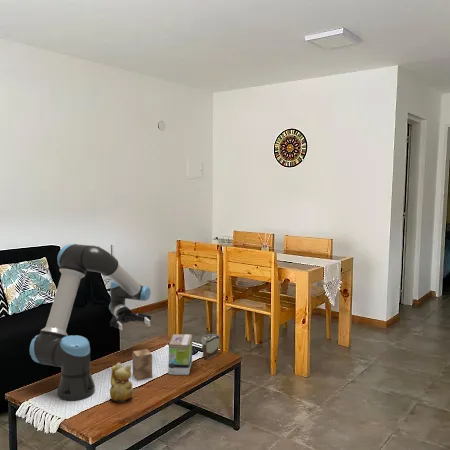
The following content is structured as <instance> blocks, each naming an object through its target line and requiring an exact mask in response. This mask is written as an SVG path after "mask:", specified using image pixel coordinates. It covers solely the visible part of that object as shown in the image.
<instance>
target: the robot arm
mask: <svg viewBox="0 0 450 450" xmlns="http://www.w3.org/2000/svg"><path fill="white" fill-rule="evenodd" d="M56 258H57V259H56V260H57V265H58V267H59V270H58V271H59V272H60V273H61V275H60V278H59V281H58V285H57V289H56V291H55V295H54V298H53V302H52V305H51V307H50V312H49V315H48V318H47V321H46V324H45V327H43V328H42V329H40V332H39V334H37V335H35V336H34V337H33V338H32V339H31V342H30V345H29V356H31V357H30V358H31V359H32V360H33V362H35V363H37V364H41V365H45V366H53V367H59V368H61V370H60V371H61V378H60V380H59V384H58V387H57V397H58V396H59V397H60V398H59V397H58V398H59V399H61V398H62V399H61V400H63V399H66V400H65V401H79V399H80V400H83V399H84V400H85V399H86V398H89V397H91V396H92V395H93V394H94V393H95V391H96V385H95V382H94V379H93V376H92V374H91V346H90V341H89V340H88V338H86V337H84V336H82V335H77V334H76V335H68V333H67V328H68V324H69V321H70V317H71V314H72V310H73V306H74V303H75V300H76V297H77V294H78V293H77V292H78V289H79V286H80V283H81V279H82V278H83V279H84V278H85V276H86V275H87V272H96V273H99V274H101V275H102V276H104V277H108V278H109V279H110V280H111V281H110V303H109V305H108V310H109V311H110V313H111V314H112V318H111V320H110V321H109V327H114V329H117V328H118V329H119V331H123V323H125V324H126V323H128V322H136V321H137V322H143V323H145V325H146V326H148V327H151V321H152V319H151V318H152V316H151V315H150V314H145V313H141V312H139V311H138V312H136V313H133V312H132V310H131V309H130V308H129V307H127V306H126V300H127V299H128V300H135V301H141V302H143V301H144V302H146V301H148V300H149V299H150V296H151V289H150V287H149V286H146V285H141V284H140V282H138V281H137V280H136V279H135V278H134V277H133V276H132V275H131V274H130V273H129V272H128V271H126V270H125V268H123V267H122V266H121V265H120V264H119V261H118V259H117V258H116V257H115V256H114V255H113V254H111V253H110V252H109V251H107V250H106V249H104V248H102V247H100V246H98V245H86V244H77V243H73V244H69V243H68V244H66V245H64V246H63V247H61V249H60V250H59V252H58V254H57V257H56Z"/></svg>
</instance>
